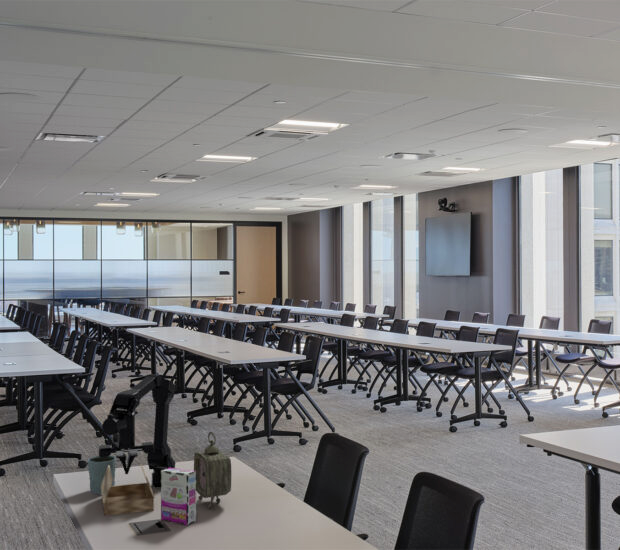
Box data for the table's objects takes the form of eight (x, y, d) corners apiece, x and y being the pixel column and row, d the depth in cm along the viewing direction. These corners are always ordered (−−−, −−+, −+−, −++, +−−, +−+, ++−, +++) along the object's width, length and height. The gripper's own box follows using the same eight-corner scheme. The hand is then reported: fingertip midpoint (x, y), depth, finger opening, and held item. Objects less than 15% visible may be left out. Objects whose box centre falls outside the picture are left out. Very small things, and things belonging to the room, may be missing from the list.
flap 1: (109, 465, 265) (108, 465, 265) (113, 479, 247) (111, 479, 246) (101, 487, 264) (100, 486, 264) (104, 503, 246) (103, 502, 246)
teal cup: (111, 495, 268) (111, 462, 268) (83, 494, 268) (83, 461, 268) (119, 486, 278) (119, 455, 278) (92, 486, 278) (92, 455, 278)
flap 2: (145, 477, 250) (146, 476, 250) (139, 463, 268) (140, 462, 268) (153, 498, 251) (154, 497, 251) (147, 483, 269) (148, 482, 269)
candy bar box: (197, 521, 240) (197, 470, 240) (187, 526, 235) (187, 474, 235) (169, 515, 245) (169, 466, 245) (160, 520, 241) (160, 470, 241)
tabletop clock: (193, 499, 262) (193, 429, 262) (217, 496, 266) (217, 427, 266) (207, 511, 249) (207, 437, 249) (232, 507, 254) (232, 434, 253)
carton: (147, 493, 269) (147, 482, 269) (153, 510, 250) (153, 498, 250) (101, 498, 264) (101, 486, 264) (104, 515, 245) (104, 503, 245)
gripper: (151, 423, 268) (151, 465, 268) (97, 426, 262) (97, 470, 262) (154, 429, 257) (154, 474, 257) (99, 433, 251) (99, 478, 251)
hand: (126, 474), depth 257 cm, fingers closed
